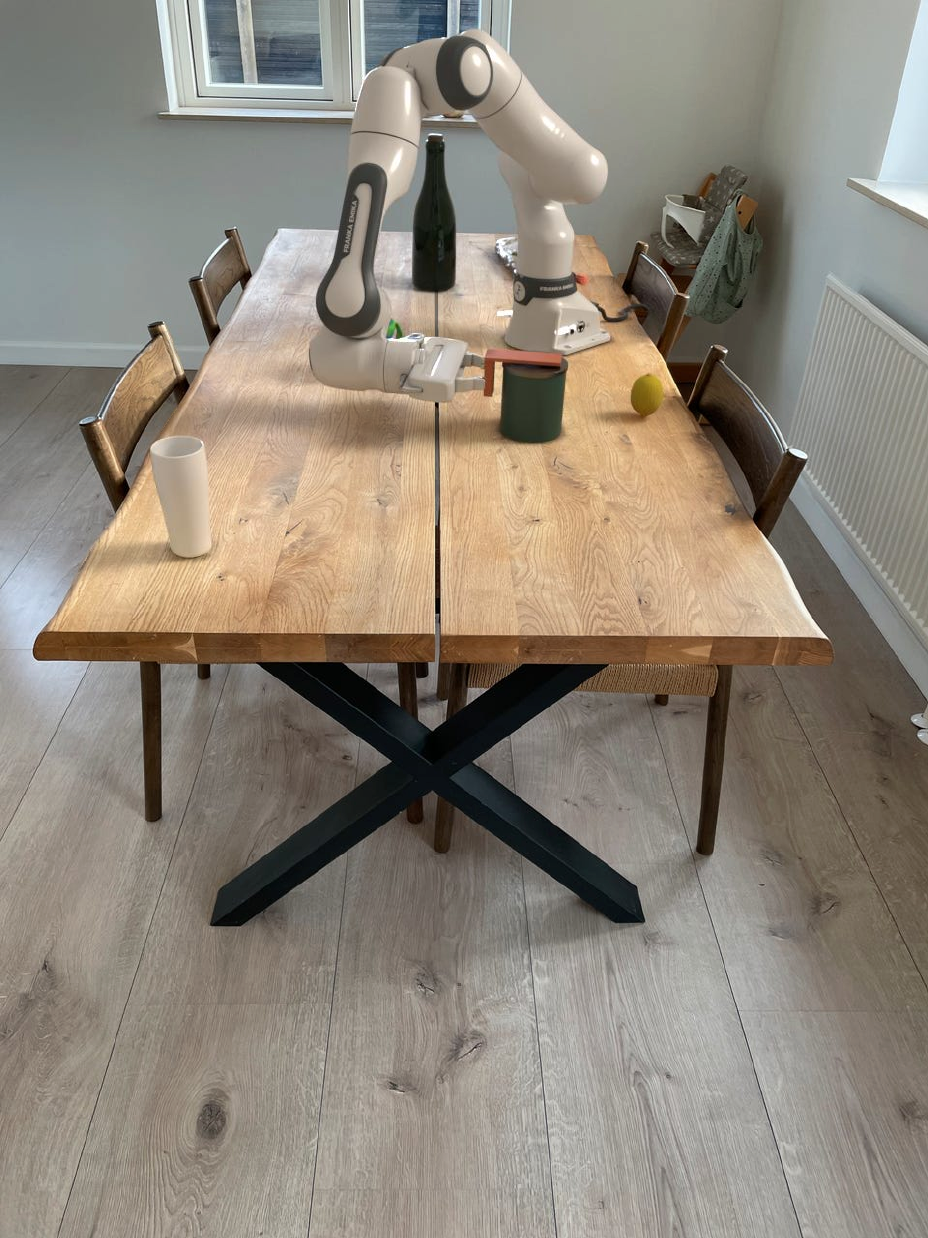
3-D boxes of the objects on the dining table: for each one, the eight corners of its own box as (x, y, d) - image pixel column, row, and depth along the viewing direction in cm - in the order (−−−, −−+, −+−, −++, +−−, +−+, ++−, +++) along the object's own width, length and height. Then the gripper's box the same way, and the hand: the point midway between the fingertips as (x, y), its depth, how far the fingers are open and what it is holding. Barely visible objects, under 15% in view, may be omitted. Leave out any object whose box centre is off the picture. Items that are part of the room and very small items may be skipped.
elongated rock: (524, 252, 271) (488, 254, 270) (524, 231, 268) (487, 234, 267) (554, 281, 241) (514, 284, 240) (554, 258, 238) (514, 261, 237)
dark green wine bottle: (464, 285, 239) (468, 133, 220) (439, 295, 231) (442, 139, 213) (427, 277, 243) (429, 128, 225) (403, 287, 236) (402, 134, 217)
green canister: (495, 440, 165) (498, 370, 158) (501, 415, 174) (505, 347, 167) (560, 446, 164) (566, 375, 157) (563, 420, 173) (569, 352, 166)
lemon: (662, 413, 177) (668, 370, 172) (656, 425, 172) (663, 381, 168) (631, 408, 178) (636, 365, 174) (625, 420, 174) (630, 376, 169)
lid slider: (482, 397, 165) (484, 357, 161) (485, 388, 168) (487, 348, 164) (557, 403, 164) (560, 362, 160) (558, 393, 167) (562, 353, 163)
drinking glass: (170, 537, 136) (153, 435, 127) (220, 536, 136) (207, 434, 128) (162, 562, 130) (144, 458, 122) (214, 561, 131) (200, 457, 122)
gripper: (393, 371, 156) (481, 377, 154) (416, 329, 172) (495, 334, 171) (394, 409, 159) (480, 415, 158) (416, 364, 176) (494, 370, 175)
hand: (488, 373), depth 165 cm, fingers open, 8 cm apart
